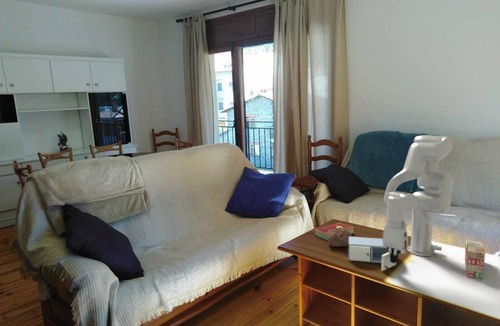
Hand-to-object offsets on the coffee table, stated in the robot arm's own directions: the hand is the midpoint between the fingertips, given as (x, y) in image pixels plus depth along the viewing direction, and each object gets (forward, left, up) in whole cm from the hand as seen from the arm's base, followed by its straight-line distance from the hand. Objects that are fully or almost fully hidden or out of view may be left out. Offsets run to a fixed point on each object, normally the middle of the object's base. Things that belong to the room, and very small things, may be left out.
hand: (393, 261), depth 158 cm
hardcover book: (+27, -44, -6) cm, 52 cm away
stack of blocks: (-36, -12, -5) cm, 38 cm away
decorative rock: (+25, -27, -5) cm, 37 cm away
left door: (+1, -4, -5) cm, 6 cm away
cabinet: (+9, -14, -5) cm, 17 cm away
